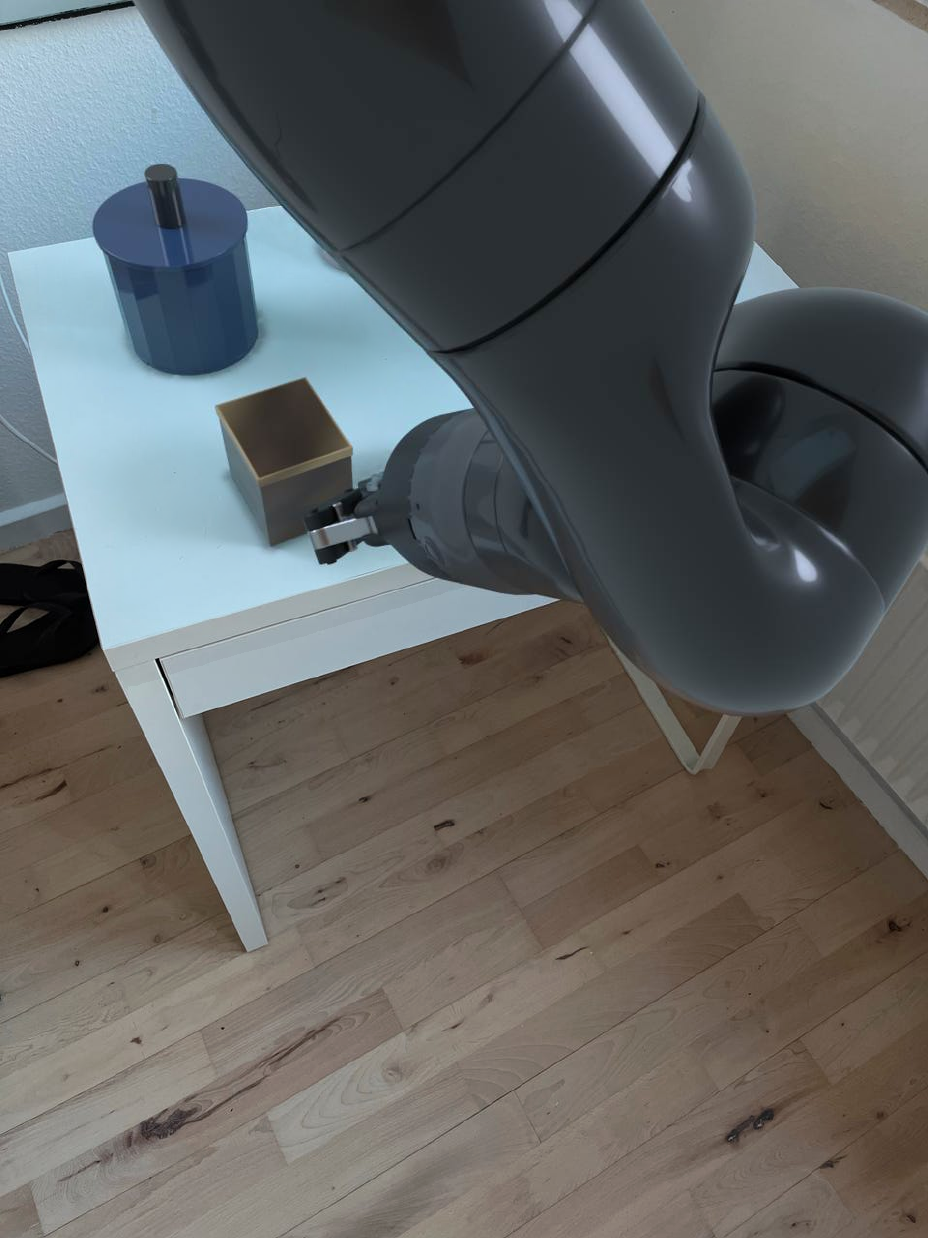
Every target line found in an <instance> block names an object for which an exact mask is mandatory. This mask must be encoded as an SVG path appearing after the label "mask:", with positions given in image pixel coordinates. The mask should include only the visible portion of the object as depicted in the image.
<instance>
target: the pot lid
mask: <svg viewBox="0 0 928 1238" xmlns="http://www.w3.org/2000/svg"><path fill="white" fill-rule="evenodd" d="M143 175H144V181H142V182H138V183H135V184H132V185H129V186H127V187H125V188H123V189H120V190H119V191H117V192H115V193H113V194H112V195H111V196H109V197H108V198H106V200H104V201H103V202H102V203H101V205H99V207H98V208H97V209H96V211H95V214H94V215H93V219H92V226H91V229H92V235H93V237H94V240H95V243H96V245H97V246H98V248H99V249H100V250H101V251H102V253H103V252H104V253H105V254H106V255H107V256H109V257H110V258H112V259H113V260H115V261H117V262H119V263H121V264H123V265H126V266H128V267H132V268H135V269H140V270H145V271H153V272H178V271H185V270H191V269H196V268H200V267H203V266H206V265H209V264H211V263H214V262H216V261H218V260H220V259H222V258H224V257H226V256H227V255H228V254H230V253H231V252H233V251H234V250H235V249H236V248H237V247H238V246H239V245H240V244H241V242H242V241H243V239H244V238H245V236H246V237H247V232H248V230H249V218H248V212H247V209H246V207H245V205H244V204H243V202H242V201H241V200H240V199H239V198H238V196H236V195H235V193H233V192H232V191H229V190H228V189H226V188H224V187H223V186H220V185H217V184H215V183H212V182H209V181H206V180H200V179H195V178H189V177H178V172H177V169H176V168H175V167H174V166H173V165H171V164H168V163H167V164H166V163H156V164H152V165H149V166H148V167H146V168H145V170H144V172H143Z"/></svg>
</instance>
